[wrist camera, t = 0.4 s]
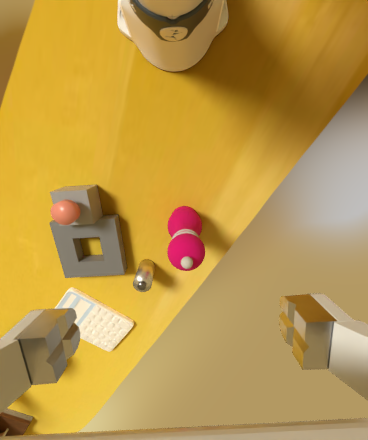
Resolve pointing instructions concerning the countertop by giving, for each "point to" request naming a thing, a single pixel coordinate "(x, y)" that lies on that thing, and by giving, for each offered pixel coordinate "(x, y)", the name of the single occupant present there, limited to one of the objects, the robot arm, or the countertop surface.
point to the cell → (144, 275)
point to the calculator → (96, 319)
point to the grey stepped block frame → (88, 235)
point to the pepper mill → (185, 239)
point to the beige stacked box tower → (13, 423)
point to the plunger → (65, 212)
